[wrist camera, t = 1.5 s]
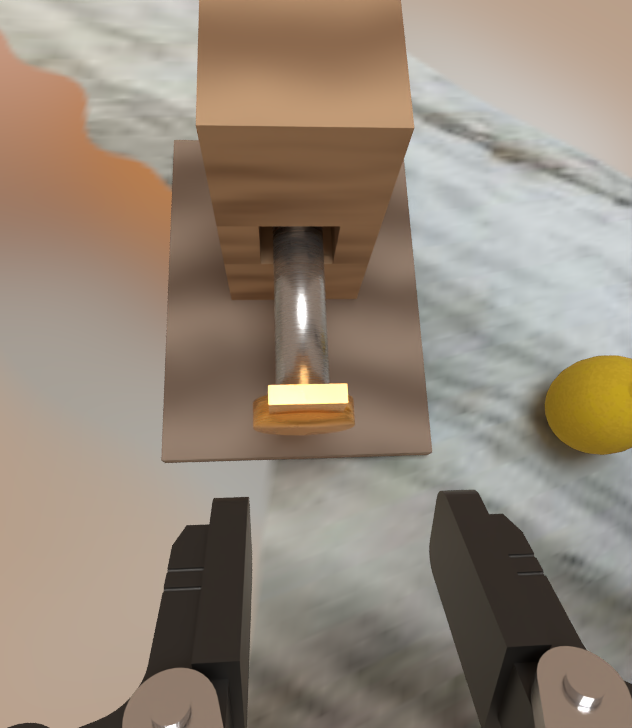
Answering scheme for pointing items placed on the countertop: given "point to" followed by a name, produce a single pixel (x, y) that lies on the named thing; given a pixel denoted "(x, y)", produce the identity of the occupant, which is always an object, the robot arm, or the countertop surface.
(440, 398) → the countertop surface
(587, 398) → the lemon
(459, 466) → the countertop surface
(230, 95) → the hitch post
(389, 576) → the countertop surface
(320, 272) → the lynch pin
